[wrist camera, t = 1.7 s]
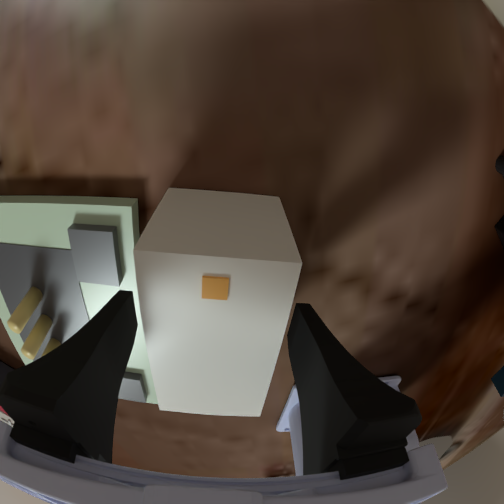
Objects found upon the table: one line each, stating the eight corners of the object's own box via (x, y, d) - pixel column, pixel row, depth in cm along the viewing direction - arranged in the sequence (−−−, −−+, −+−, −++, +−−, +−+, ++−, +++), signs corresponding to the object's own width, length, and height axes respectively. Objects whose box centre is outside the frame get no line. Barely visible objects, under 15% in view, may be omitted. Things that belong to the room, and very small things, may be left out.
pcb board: (137, 198, 13) (106, 240, 10) (160, 393, 21) (154, 437, 18) (-29, 196, 12) (-70, 226, 9) (35, 368, 20) (20, 403, 17)
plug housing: (279, 196, 14) (302, 265, 9) (254, 339, 18) (260, 417, 14) (168, 187, 13) (132, 252, 8) (173, 333, 18) (159, 411, 13)
